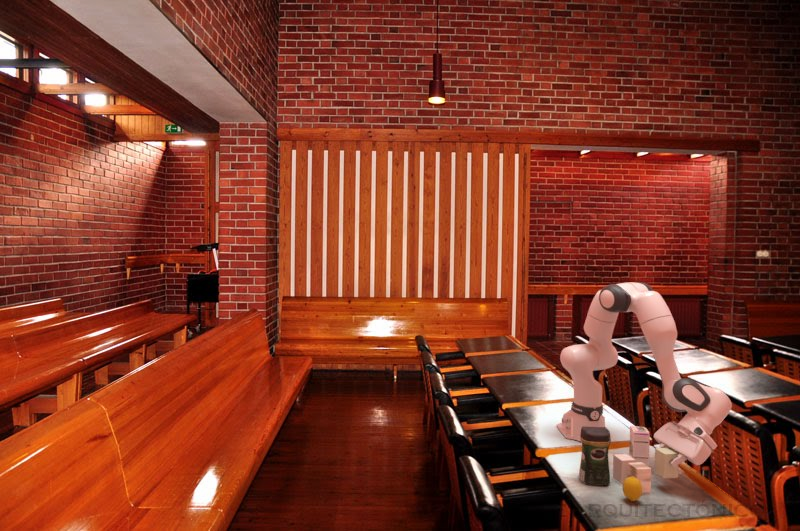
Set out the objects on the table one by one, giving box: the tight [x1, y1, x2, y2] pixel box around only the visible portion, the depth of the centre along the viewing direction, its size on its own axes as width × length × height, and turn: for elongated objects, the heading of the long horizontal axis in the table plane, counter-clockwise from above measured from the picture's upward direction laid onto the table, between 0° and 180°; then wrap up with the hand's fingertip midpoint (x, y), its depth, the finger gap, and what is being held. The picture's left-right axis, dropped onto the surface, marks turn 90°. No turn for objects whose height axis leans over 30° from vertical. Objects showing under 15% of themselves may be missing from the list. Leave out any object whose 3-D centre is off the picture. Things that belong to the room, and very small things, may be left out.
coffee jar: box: [578, 426, 611, 486], centre depth 180 cm, size 10×8×19 cm
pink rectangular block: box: [612, 453, 636, 485], centre depth 182 cm, size 5×5×8 cm
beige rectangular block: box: [653, 447, 679, 479], centre depth 175 cm, size 5×5×8 cm
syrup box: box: [628, 425, 650, 467], centre depth 191 cm, size 6×6×14 cm
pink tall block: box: [628, 462, 652, 494], centre depth 175 cm, size 5×5×8 cm
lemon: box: [622, 476, 643, 502], centre depth 167 cm, size 6×6×8 cm
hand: (664, 461), depth 175 cm, fingers closed on beige rectangular block, 5 cm apart
